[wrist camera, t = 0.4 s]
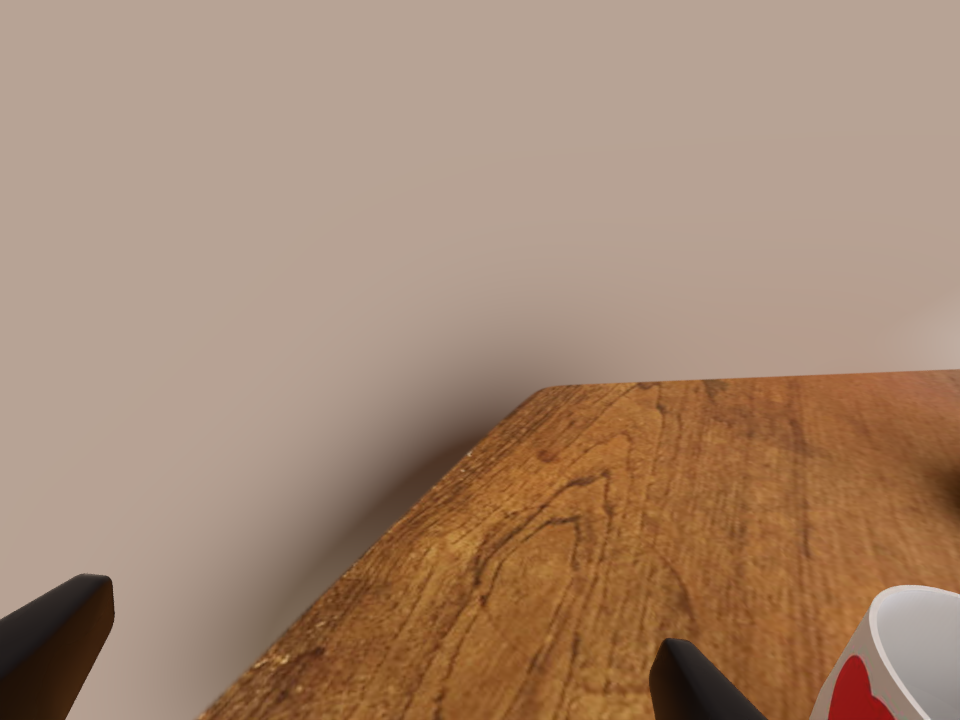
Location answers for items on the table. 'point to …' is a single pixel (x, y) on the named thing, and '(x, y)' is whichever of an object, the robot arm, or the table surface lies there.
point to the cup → (899, 661)
